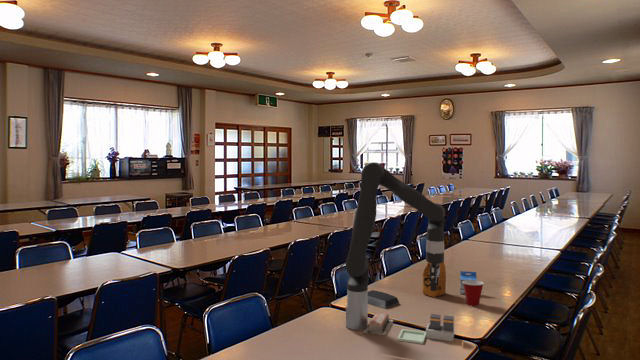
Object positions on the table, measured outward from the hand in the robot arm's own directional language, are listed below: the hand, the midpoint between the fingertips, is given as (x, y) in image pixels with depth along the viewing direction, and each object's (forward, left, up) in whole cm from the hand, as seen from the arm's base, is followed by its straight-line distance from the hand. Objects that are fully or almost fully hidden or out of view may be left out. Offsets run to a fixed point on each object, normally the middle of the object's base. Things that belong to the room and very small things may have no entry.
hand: (434, 288), depth 189 cm
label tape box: (+11, +67, -21) cm, 71 cm away
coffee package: (-7, +60, -21) cm, 64 cm away
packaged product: (-24, +1, -22) cm, 33 cm away
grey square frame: (+3, -1, -21) cm, 21 cm away
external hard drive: (-33, +36, -21) cm, 54 cm away
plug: (+1, -1, -20) cm, 20 cm away
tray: (-8, -6, -21) cm, 23 cm away
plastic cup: (+14, +49, -21) cm, 55 cm away
